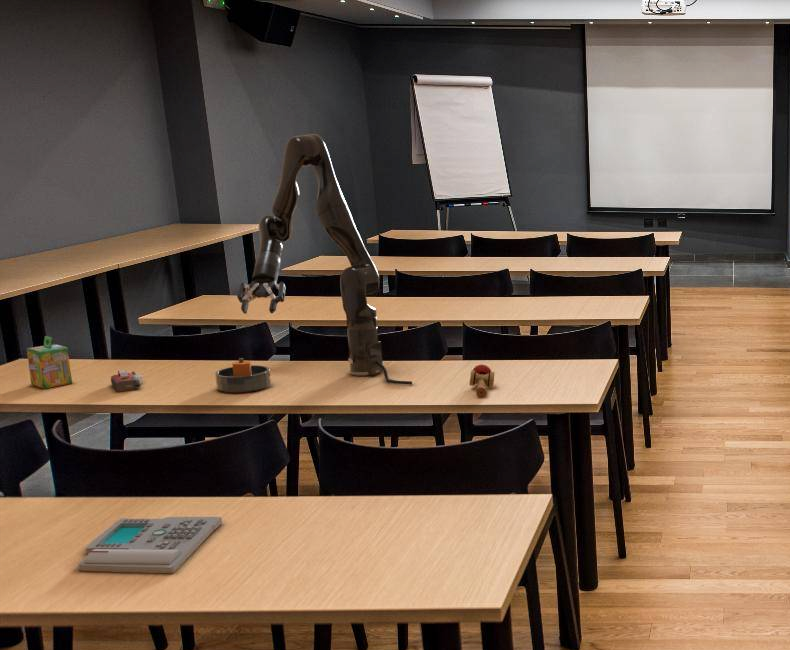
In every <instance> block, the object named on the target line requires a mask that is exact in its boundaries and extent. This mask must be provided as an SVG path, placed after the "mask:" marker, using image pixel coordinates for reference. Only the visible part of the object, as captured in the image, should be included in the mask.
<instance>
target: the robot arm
mask: <svg viewBox="0 0 790 650" xmlns="http://www.w3.org/2000/svg"><path fill="white" fill-rule="evenodd" d="M306 167H313V170H314V173H315V176H316V178H317V183H318V185H317V186H318V187H317V188H318V189H317V196H316V204H315V205H316V207H315V208H316V212H317V215H318V218H319V221H320V223H321V226H322V227H323V230H324V231H325V234H327V236H328V237H330V239H331V240H332V241H333V242H334V243H335V244H336V245H337V246H338V247H339V248H340V249H341V251H342V252H343V253H344V254H345V256H346V257H347V260H348V262H349V264H350V266H348V267H346V268H344V269H343V270H342V271H341V274H340V278H339V286H340V287H339V288H340V295H341V303H342V309H343V311H344V313H345V318H346V331H347V332H346V333H347V344H348V345H347V346H348V347H347V348H348V363H349V374H350V375H352V376H357V377H367V376H369V377H372V376H375V375H378V374H381V373H383V376H384V379H385V380H386V382H387V383H390V384H397V385H408V386H409V385H410V386H411V385H413V381H410V380H396V379H390V378H389V375H388V372H387V368H386V367H385V366H384V363H383V350H382V342H381V341H379V331H378V330H379V329H378V315H377V309H376V308H375V307H374V306H371V305H370V304H369V303H368V299H367V295H371V294H374V293H376V292H377V290H378V289H379V287H380V282H381V281H380V275H379V272H378V269H377V268H376V265H375V264H374V262H373V260H372V258H371V256H370V254H369V253H368V251H367V249H366V247H365V245H364V243H363V240H362V238H361V235H360V233H359V231H358V230H357V227H356V226H357V225H356V224H355V222H354V219H353V216H352V213H351V211H350V209H349V206H348V204H347V201H346V200H345V197H344V195H343V192H342V190H341V188H340V185H339V182H338V180H337V177H336V174H335V170H334V167H333V164H332V161H331V158H330V153H329V151H328V148H327V146H326V143H325V142H324V139H323V138H322V137H321V136H320V135H319V134H316V133H308V134H301V135H294V136H292V137H290V138H288V140H287V142H286V145H285V149H284V153H283V159H282V166H281V173H280V179H279V183H278V188H277V191H276V193H275V196H274V199H273V202H272V205H271V208H270V209H271V213H272V215H271V214H265V215H263V216H262V217H260V219H259V222H258V233H259V241H260V242H259V250H258V255H257V256H256V257H257V258H256V260H255V264H254V268H253V272H252V278H251V283H249V284H246V283H245V282H241V283H240V285H239V288H238V293H237V296H236V297H237V300H238V301H239V303H240V304H241V306H240V310H241V311H242V313H243V314H244V315H245V314H247V313H248V309H249V306H250V305H249V304H250V303H251V302H252V301H254V300H256V299H257V298H258V299H260V298H264V299H265V298H266V299H267V298H268V297H269V298H270V303H269V309H268V311H269V313H270V314H274V313H275V312H276V311H277V307H278V303H283V302H285V298H286V290H287V287H286V285H285V283H284V282H283V281H280V282H279V283H278V278H279V274H280V270H281V260H282V254H283V251H284V247H283V244H282V243H286V242H287V241H289V240H290V239H291V237H292V235H293V218H294V214H295V211H296V209H297V206H298V203H299V200H300V189H299V185H298V181H297V179H298V174H299V173H300V171H301V169H302V168H306ZM276 290H278V293H277V295H275V293H274V292H275V291H276Z"/></svg>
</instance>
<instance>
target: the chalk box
mask: <svg viewBox="0 0 790 650" xmlns="http://www.w3.org/2000/svg"><path fill="white" fill-rule="evenodd" d="M47 341H48V343H47ZM26 355H27V363H28V370H29V376H30V384H31V385H32V386H34V387H38V388H41V389H44V390H46V389H50V388H54V387H59V386H60V387H61V386H65V385H72V384H73V380H72V372H71V364H70V358H69V356H70V355H69V350H68V347H67V346H64V345H60V344H56V343H53V337H52V336H48V335H45V336H44V339H43V345H40V346H34V347H33V346H32V347H28V348H26Z"/></svg>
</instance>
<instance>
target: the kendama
mask: <svg viewBox="0 0 790 650" xmlns="http://www.w3.org/2000/svg"><path fill="white" fill-rule="evenodd" d="M495 374H496V373H495V371H492V369H491V368H490V367H489V366H488V365H486V364H478V365H475V366H474V368H473V369H472V370H471V371H470V377H469V386H471V387H474V386H475V385H477V386H476V390H475V394H476V396H477V397H478V398H485V397H486V396H487V391H488V390H487V388H488V389H493V388H494V384H495V383H494V382H495Z"/></svg>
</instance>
